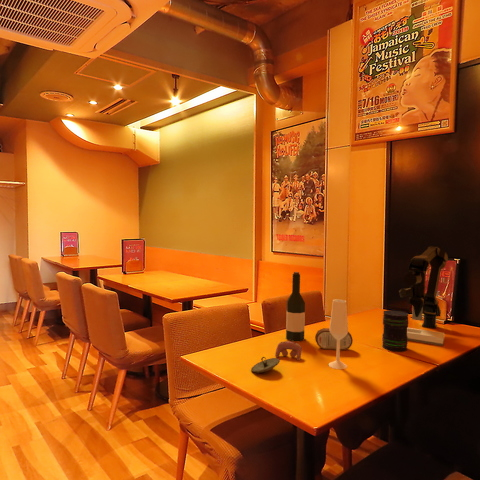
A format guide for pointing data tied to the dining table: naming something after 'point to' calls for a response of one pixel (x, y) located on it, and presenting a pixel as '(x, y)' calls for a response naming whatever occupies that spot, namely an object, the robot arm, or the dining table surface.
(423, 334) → the cream socket panel
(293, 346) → the video game controller
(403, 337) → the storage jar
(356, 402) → the dining table surface
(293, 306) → the wine bottle
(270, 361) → the lid
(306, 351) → the dining table surface
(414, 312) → the plug
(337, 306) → the champagne flute
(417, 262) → the robot arm
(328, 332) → the tin
